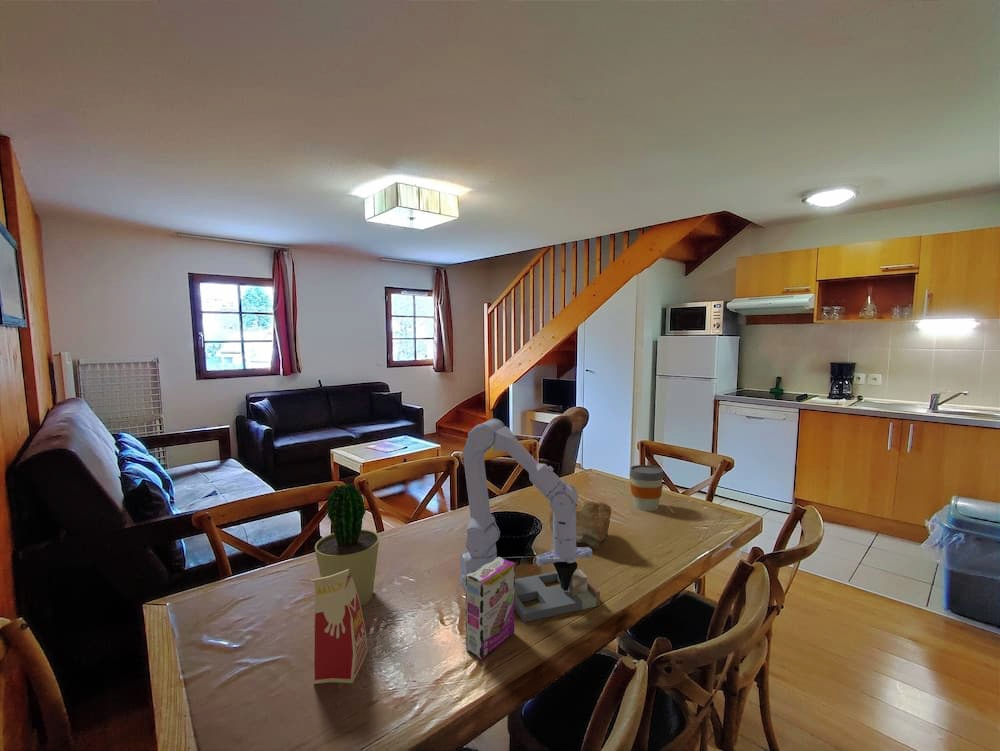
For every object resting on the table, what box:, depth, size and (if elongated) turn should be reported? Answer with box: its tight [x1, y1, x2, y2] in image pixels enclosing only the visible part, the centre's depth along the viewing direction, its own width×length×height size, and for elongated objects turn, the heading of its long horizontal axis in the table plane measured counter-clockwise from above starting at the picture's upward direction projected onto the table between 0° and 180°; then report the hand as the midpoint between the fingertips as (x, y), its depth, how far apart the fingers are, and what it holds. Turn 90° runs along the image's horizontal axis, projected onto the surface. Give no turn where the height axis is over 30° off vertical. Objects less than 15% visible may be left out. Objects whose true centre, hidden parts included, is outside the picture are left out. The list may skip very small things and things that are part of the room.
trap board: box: [514, 568, 601, 623], centre depth 112 cm, size 20×15×4 cm
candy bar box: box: [465, 556, 516, 660], centre depth 95 cm, size 11×5×16 cm, turn 141°
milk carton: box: [310, 569, 369, 685], centre depth 88 cm, size 9×9×20 cm
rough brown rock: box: [549, 500, 612, 550], centre depth 146 cm, size 23×17×15 cm
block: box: [568, 568, 588, 595], centre depth 112 cm, size 4×4×4 cm
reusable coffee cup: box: [629, 464, 664, 512], centre depth 174 cm, size 13×13×15 cm
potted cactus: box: [314, 482, 380, 607], centre depth 112 cm, size 15×15×30 cm
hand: (564, 588), depth 111 cm, fingers closed
